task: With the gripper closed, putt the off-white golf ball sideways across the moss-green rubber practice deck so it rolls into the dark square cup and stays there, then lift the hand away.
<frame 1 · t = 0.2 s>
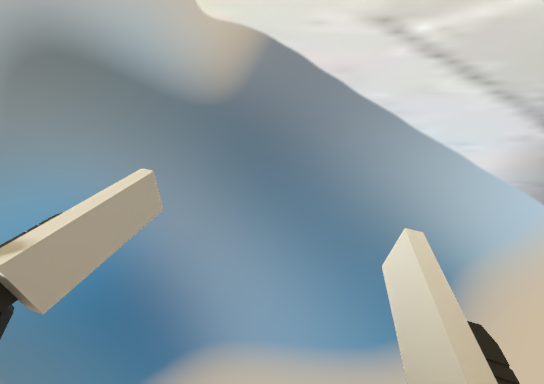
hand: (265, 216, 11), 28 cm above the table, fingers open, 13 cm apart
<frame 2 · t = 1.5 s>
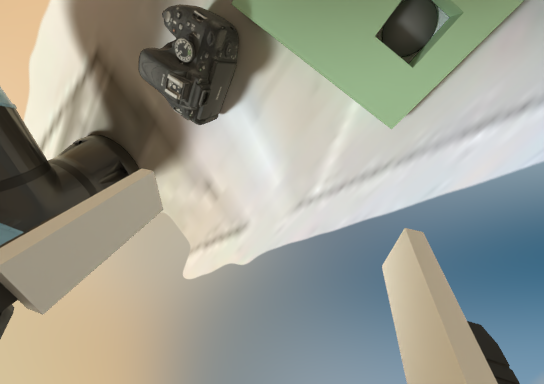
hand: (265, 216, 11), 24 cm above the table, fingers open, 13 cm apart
camera: (211, 70, 31), on the table
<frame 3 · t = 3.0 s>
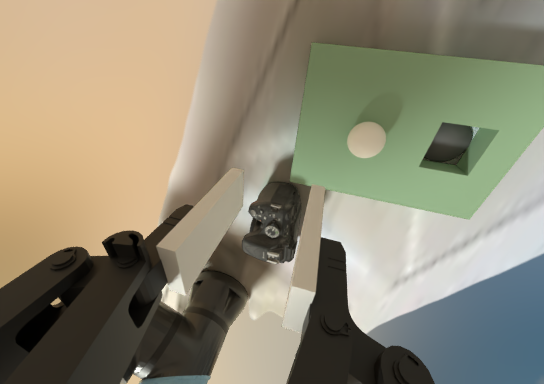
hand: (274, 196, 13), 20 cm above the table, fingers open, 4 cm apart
camera: (281, 211, 39), on the table
practice deck: (393, 133, 27), on the table
golf ball: (365, 140, 24), point 5 cm above the table, touching practice deck
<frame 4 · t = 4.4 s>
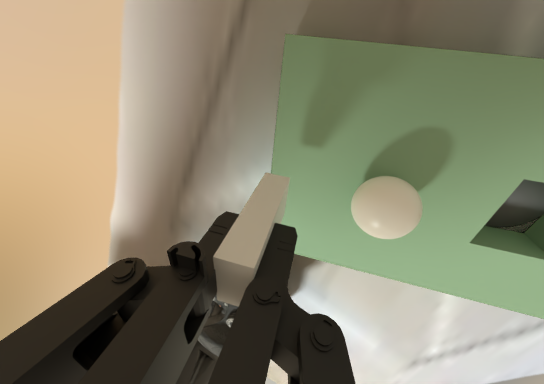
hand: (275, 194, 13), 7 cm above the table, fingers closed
camera: (260, 270, 29), on the table
practice deck: (424, 182, 17), on the table
golf ball: (384, 207, 13), point 5 cm above the table, touching practice deck
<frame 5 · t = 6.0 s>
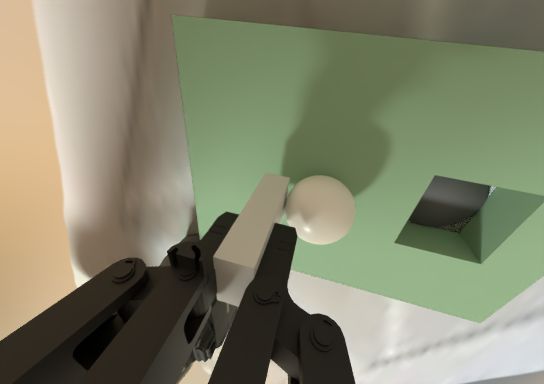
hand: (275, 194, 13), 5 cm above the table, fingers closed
camera: (214, 269, 28), on the table
practice deck: (354, 179, 16), on the table
golf ball: (319, 209, 12), point 5 cm above the table, tilted 44°, touching practice deck
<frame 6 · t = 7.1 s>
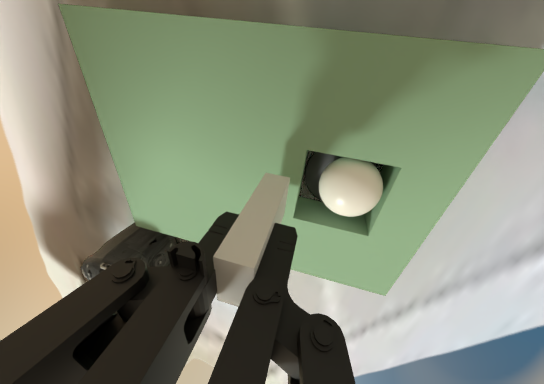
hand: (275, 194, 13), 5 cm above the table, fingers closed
camera: (167, 255, 29), on the table
practice deck: (264, 160, 17), on the table
golf ball: (349, 186, 14), point 2 cm above the table, tilted 38°, touching practice deck
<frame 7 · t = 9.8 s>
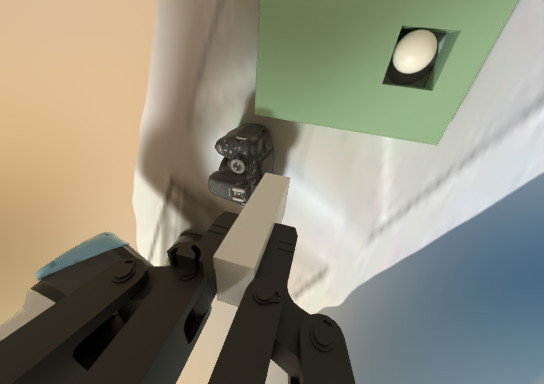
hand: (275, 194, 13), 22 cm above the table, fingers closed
camera: (255, 160, 38), on the table
practice deck: (358, 53, 26), on the table
golf ball: (413, 52, 23), point 2 cm above the table, tilted 67°, touching practice deck
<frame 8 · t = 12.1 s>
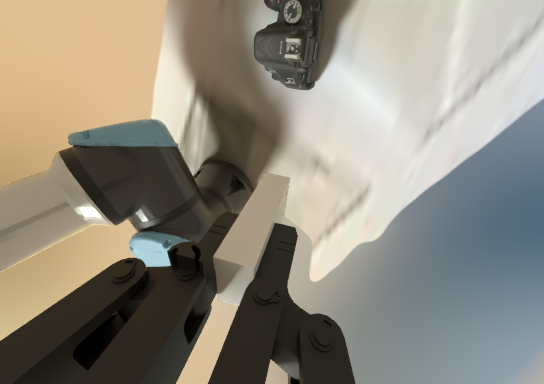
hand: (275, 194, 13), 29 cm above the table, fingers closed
camera: (298, 43, 33), on the table
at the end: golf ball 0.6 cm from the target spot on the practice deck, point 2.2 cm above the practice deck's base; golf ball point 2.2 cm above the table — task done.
